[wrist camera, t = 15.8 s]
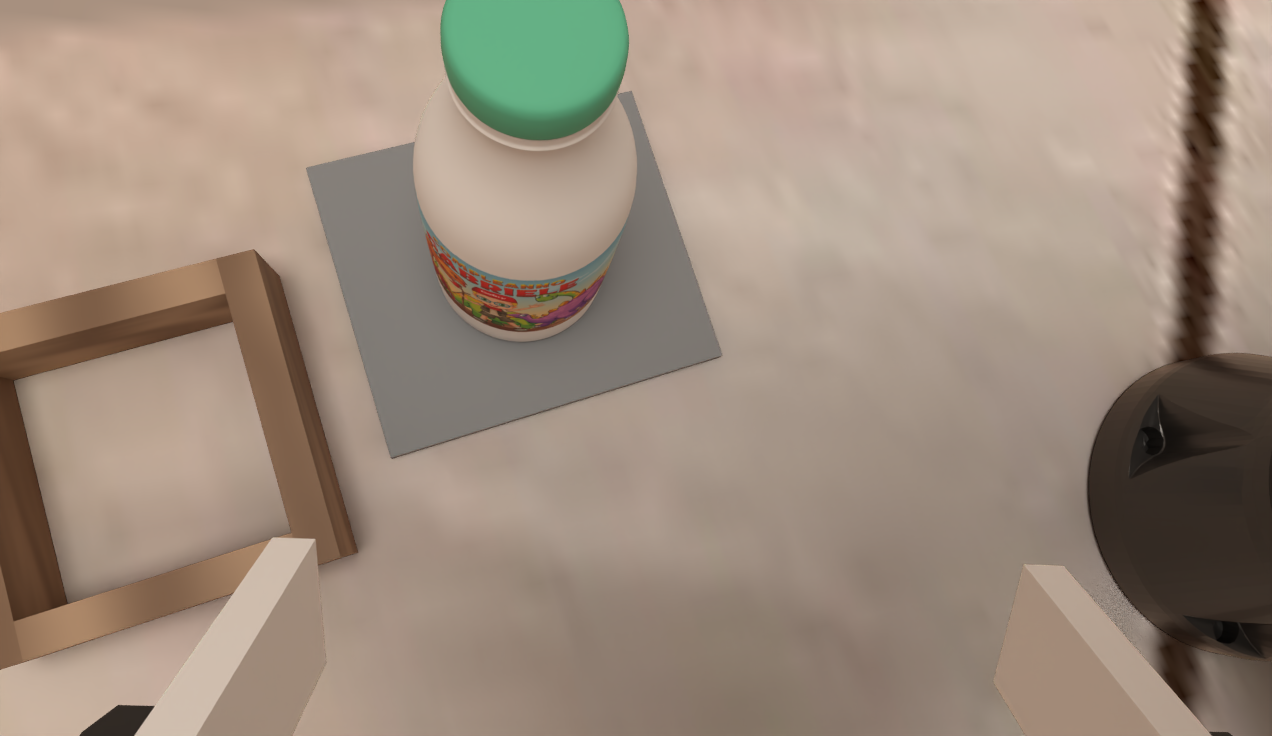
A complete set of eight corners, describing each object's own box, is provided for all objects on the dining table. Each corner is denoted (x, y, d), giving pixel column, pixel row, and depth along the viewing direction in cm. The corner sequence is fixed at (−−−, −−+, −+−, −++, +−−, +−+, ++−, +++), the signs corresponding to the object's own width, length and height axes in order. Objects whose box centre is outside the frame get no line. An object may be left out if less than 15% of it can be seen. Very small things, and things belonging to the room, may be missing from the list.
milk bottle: (441, 180, 40) (381, -141, 20) (603, 193, 41) (695, -100, 21) (431, 341, 38) (356, 163, 19) (599, 349, 39) (694, 189, 20)
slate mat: (630, 95, 42) (631, 90, 42) (719, 356, 41) (722, 355, 40) (308, 172, 39) (305, 167, 39) (392, 458, 38) (390, 457, 37)
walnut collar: (279, 275, 38) (253, 249, 34) (358, 552, 37) (340, 557, 33) (-34, 357, 36) (-99, 338, 32) (37, 657, 34) (-23, 676, 30)
